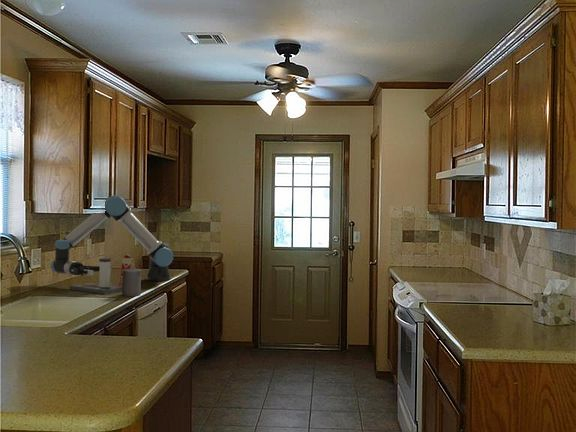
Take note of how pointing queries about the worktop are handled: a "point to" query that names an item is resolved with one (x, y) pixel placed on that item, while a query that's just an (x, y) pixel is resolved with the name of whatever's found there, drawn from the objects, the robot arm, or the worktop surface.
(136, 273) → the pillar candle
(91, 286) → the console
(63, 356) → the worktop surface
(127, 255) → the milk carton
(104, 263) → the white bottle
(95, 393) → the worktop surface
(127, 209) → the robot arm
